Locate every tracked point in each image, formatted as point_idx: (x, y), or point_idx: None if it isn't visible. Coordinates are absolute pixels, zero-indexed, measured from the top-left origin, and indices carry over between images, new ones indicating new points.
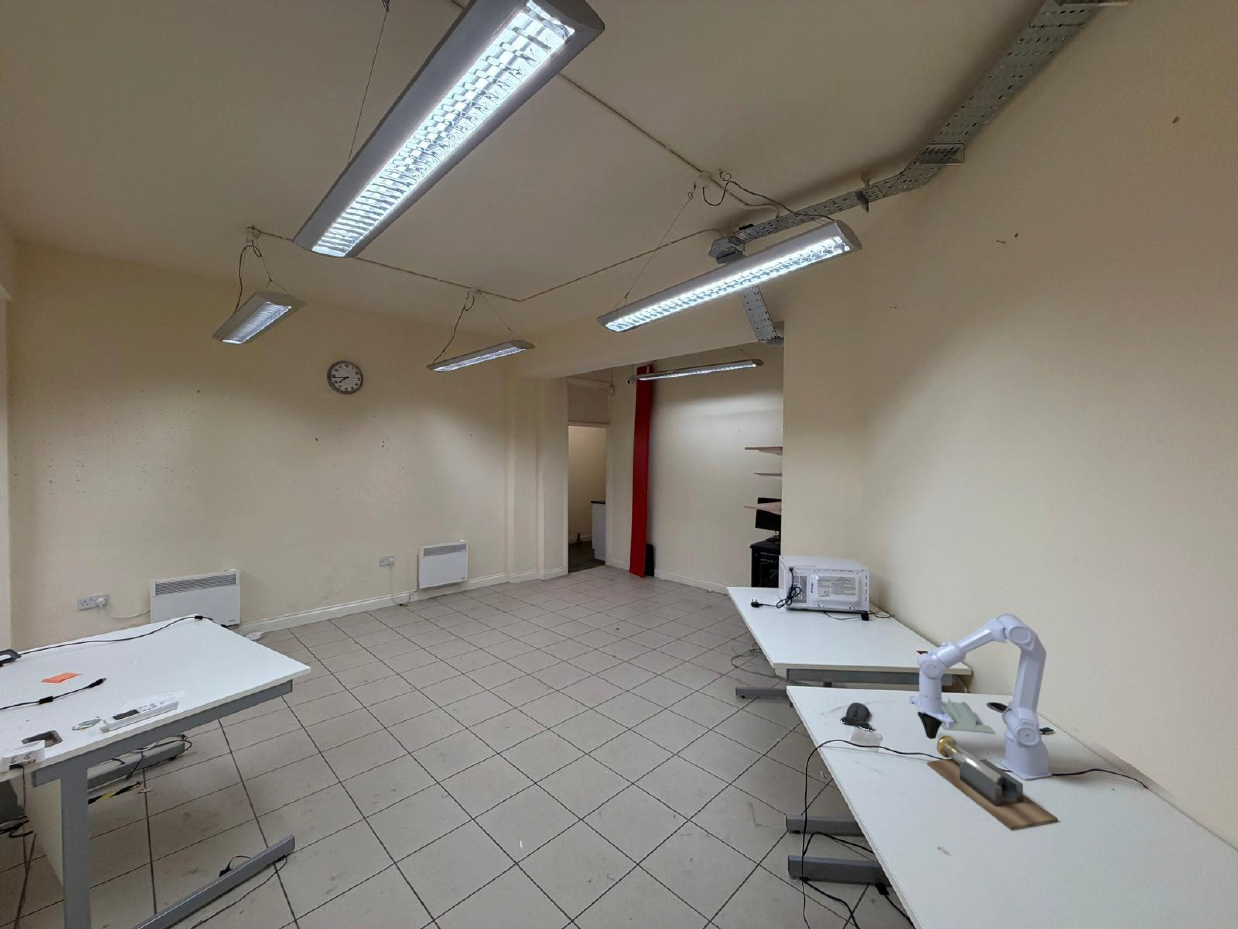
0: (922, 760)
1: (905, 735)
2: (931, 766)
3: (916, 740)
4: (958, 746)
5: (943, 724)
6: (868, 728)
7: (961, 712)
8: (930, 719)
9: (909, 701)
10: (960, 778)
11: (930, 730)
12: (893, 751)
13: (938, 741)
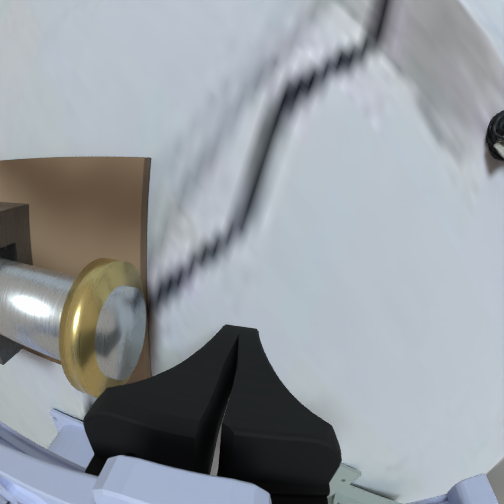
0: (187, 165)
1: (400, 288)
2: (120, 157)
3: (343, 306)
4: (39, 350)
5: (346, 474)
6: (500, 126)
7: None
8: (97, 427)
9: (486, 482)
10: (21, 205)
11: (191, 359)
12: (311, 71)
13: (89, 292)
